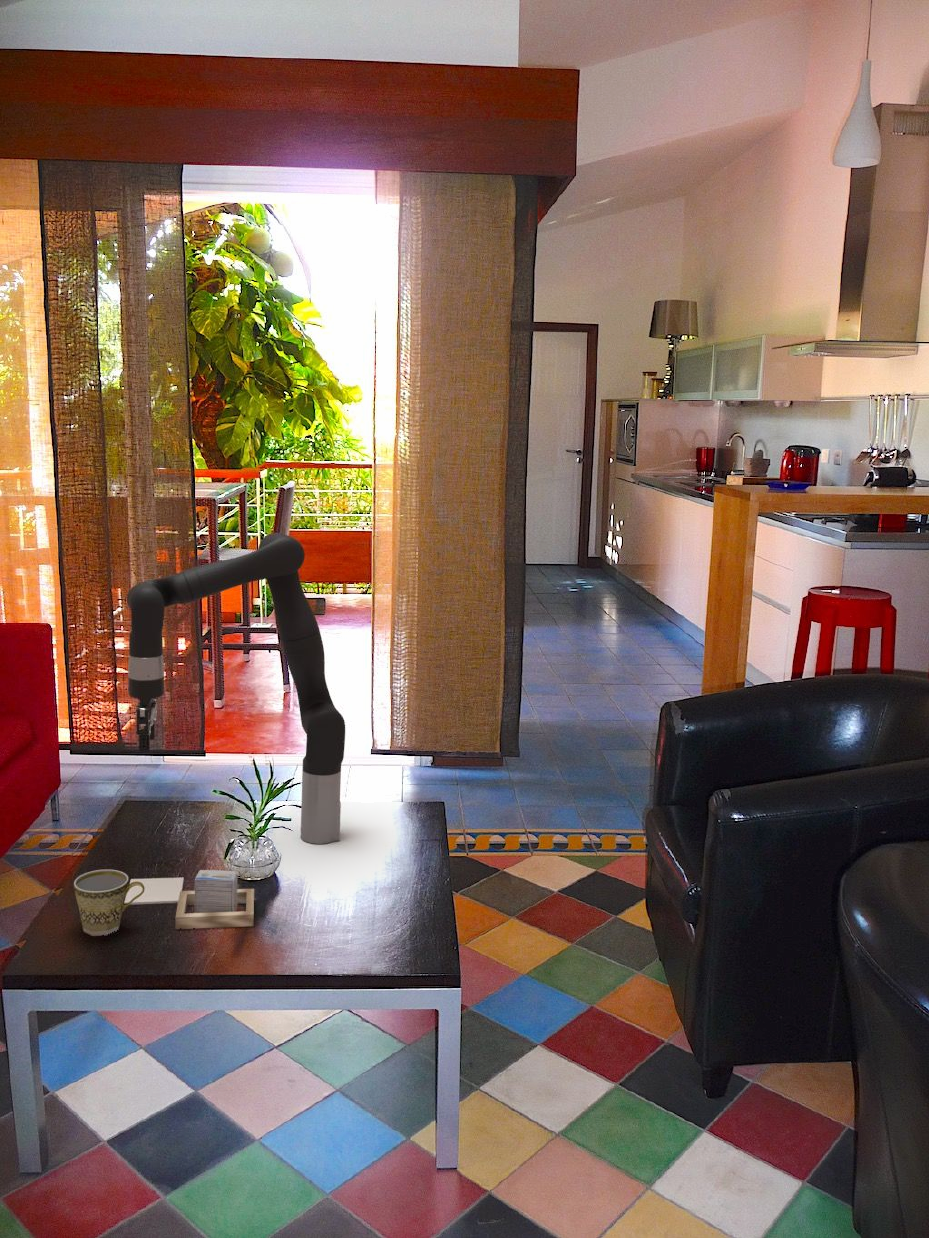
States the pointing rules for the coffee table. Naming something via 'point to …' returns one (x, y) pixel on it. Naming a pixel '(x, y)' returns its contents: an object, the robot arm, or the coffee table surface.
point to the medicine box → (215, 891)
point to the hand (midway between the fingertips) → (147, 745)
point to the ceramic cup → (102, 900)
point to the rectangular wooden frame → (214, 913)
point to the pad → (155, 891)
